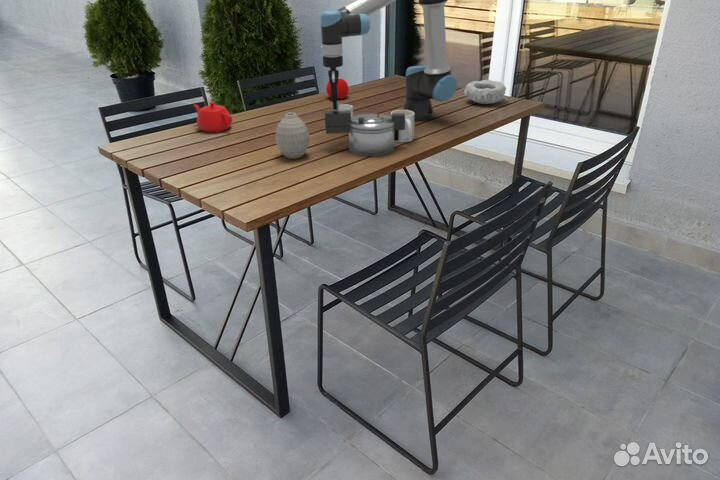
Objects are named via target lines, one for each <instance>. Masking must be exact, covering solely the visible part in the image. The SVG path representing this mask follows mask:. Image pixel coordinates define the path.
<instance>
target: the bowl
mask: <svg viewBox="0 0 720 480" xmlns="http://www.w3.org/2000/svg"><path fill="white" fill-rule="evenodd" d="M506 89H507V87H506V86H505V83H504V84H503V83H502V82H501V81H496V80H492V79H484V80H483V79H482V80H473V81H471V82H468V83H467V84H466V85H465V87H464V90H463V93H464V94H463V95H464V98H466V97H467V98H468V99H469V100H471V101H472V102H473V103H477V104H481V105H492V104H495V103H498V102H501V101H502V100H503V98H504V97H505V94H506Z"/></svg>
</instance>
